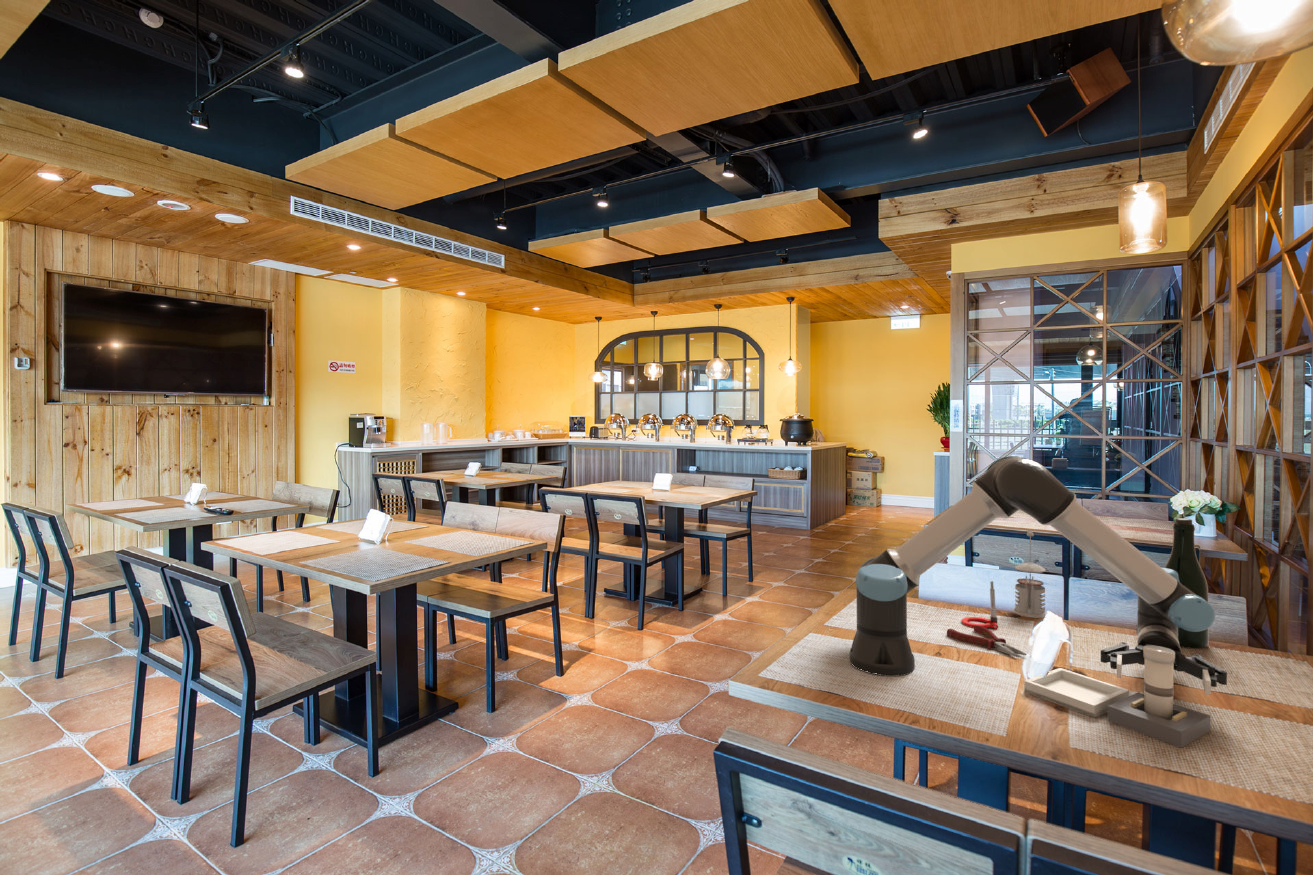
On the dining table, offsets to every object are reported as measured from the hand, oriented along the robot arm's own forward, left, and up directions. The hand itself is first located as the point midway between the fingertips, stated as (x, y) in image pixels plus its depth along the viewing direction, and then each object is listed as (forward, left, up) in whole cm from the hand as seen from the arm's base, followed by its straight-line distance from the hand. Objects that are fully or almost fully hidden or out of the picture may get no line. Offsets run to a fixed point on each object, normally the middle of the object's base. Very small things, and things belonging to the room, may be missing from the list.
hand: (1162, 679), depth 123 cm
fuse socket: (-2, 0, -9) cm, 9 cm away
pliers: (+11, +45, -10) cm, 47 cm away
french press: (+47, +53, -9) cm, 72 cm away
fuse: (-2, 0, -9) cm, 9 cm away
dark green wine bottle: (+56, +18, -9) cm, 60 cm away
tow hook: (+25, +55, -9) cm, 61 cm away
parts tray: (-2, +15, -9) cm, 17 cm away
